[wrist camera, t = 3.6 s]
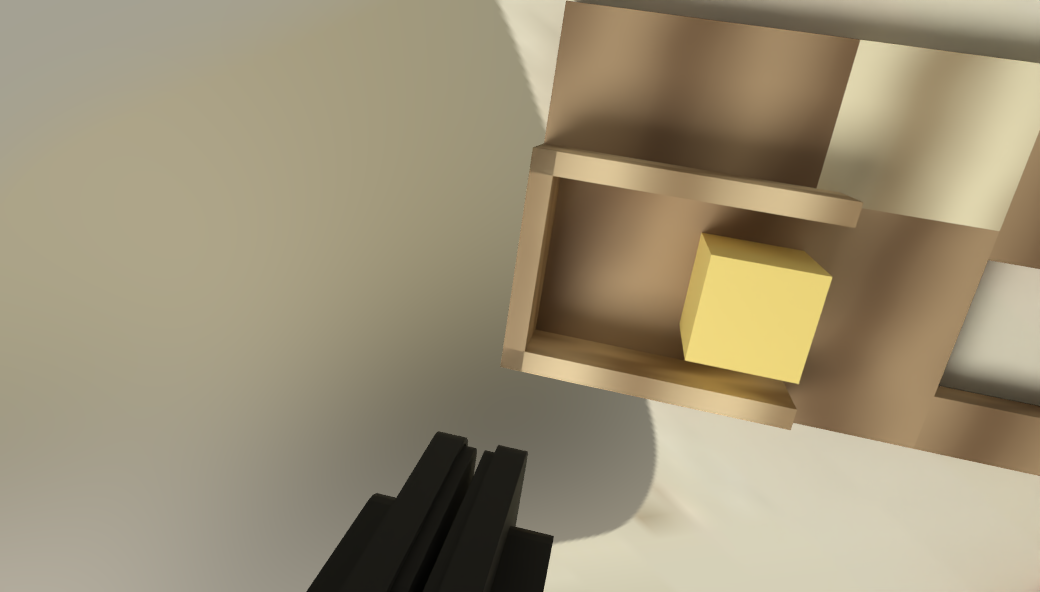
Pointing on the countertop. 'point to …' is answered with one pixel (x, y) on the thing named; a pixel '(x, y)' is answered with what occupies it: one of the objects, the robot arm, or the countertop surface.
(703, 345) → the cube
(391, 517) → the robot arm
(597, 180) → the cubby
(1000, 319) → the countertop surface
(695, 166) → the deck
